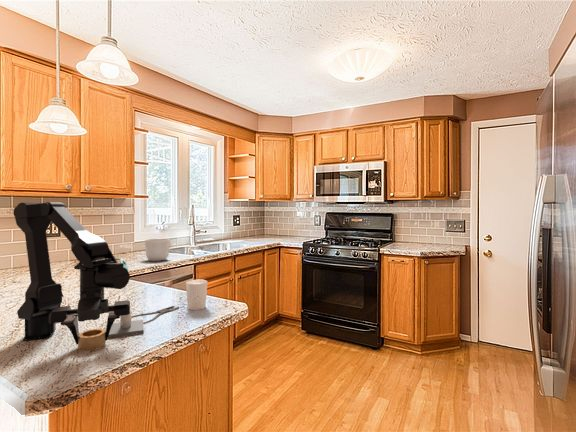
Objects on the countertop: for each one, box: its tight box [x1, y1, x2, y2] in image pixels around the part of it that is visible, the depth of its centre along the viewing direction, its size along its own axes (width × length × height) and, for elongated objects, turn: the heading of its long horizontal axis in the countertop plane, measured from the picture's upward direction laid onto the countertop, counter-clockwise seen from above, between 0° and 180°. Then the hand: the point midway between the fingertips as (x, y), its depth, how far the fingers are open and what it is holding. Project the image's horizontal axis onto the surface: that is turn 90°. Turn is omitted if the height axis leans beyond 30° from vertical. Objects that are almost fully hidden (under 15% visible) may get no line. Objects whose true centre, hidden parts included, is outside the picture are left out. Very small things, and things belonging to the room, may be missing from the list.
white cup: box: [185, 279, 208, 311], centre depth 124 cm, size 8×8×10 cm
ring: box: [77, 328, 107, 352], centre depth 89 cm, size 6×6×4 cm
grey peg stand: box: [107, 309, 145, 339], centre depth 100 cm, size 10×10×6 cm
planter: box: [144, 238, 171, 262], centre depth 233 cm, size 17×17×15 cm
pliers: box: [131, 305, 180, 325], centre depth 115 cm, size 10×1×20 cm
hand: (92, 341), depth 89 cm, fingers closed on ring, 6 cm apart
